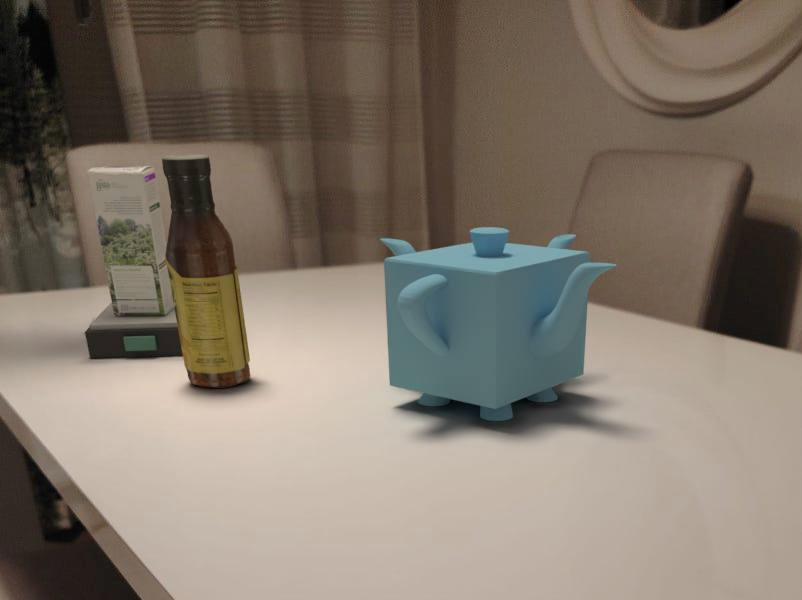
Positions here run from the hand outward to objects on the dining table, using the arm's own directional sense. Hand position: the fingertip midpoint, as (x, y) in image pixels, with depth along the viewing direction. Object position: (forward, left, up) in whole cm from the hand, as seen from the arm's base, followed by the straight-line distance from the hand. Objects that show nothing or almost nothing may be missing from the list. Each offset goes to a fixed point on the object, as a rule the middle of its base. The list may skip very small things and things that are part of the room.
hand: (38, 23), depth 95 cm
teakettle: (+42, -33, -31) cm, 61 cm away
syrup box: (+7, -6, -27) cm, 29 cm away
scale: (+7, -6, -31) cm, 32 cm away
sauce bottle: (+16, -24, -31) cm, 42 cm away
